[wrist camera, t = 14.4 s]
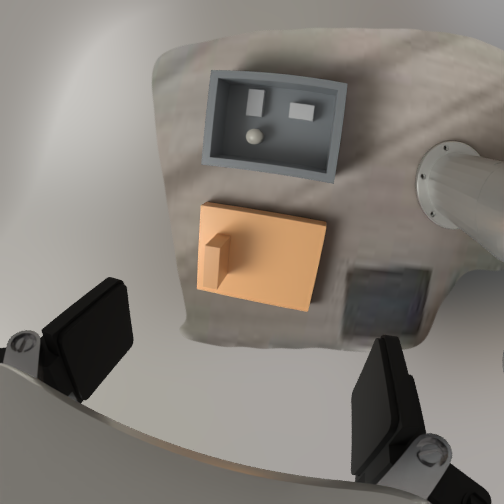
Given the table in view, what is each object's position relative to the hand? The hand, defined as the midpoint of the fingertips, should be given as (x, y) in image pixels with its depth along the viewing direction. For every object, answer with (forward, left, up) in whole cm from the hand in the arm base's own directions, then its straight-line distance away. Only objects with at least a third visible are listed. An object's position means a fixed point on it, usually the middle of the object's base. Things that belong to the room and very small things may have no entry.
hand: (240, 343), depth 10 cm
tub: (+4, -8, -33) cm, 34 cm away
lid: (+4, +11, -33) cm, 35 cm away
